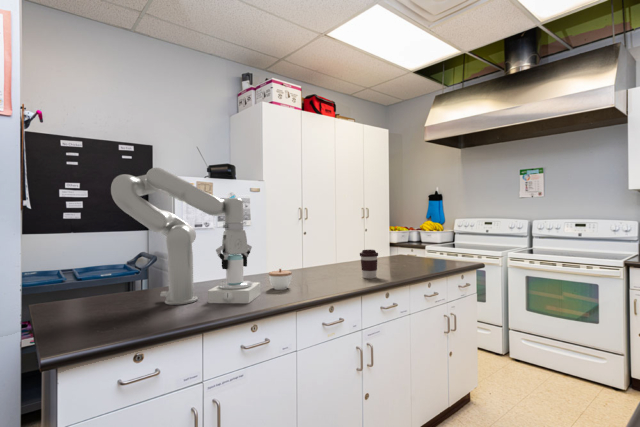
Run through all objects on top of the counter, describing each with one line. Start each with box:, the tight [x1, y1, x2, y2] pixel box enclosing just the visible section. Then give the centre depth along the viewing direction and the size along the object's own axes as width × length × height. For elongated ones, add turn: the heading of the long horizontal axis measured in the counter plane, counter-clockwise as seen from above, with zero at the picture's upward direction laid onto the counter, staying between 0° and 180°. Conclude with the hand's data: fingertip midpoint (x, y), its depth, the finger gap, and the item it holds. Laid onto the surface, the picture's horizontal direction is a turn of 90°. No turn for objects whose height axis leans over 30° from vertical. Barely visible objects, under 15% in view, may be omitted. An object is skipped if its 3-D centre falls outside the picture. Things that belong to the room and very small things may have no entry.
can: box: [225, 254, 244, 285], centre depth 149 cm, size 7×7×12 cm
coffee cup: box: [359, 249, 379, 280], centre depth 190 cm, size 10×10×15 cm
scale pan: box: [217, 279, 253, 289], centre depth 149 cm, size 14×14×1 cm
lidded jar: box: [268, 268, 293, 291], centre depth 167 cm, size 11×11×9 cm
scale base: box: [207, 282, 262, 304], centre depth 148 cm, size 17×18×5 cm
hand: (234, 267), depth 149 cm, fingers open, 9 cm apart
